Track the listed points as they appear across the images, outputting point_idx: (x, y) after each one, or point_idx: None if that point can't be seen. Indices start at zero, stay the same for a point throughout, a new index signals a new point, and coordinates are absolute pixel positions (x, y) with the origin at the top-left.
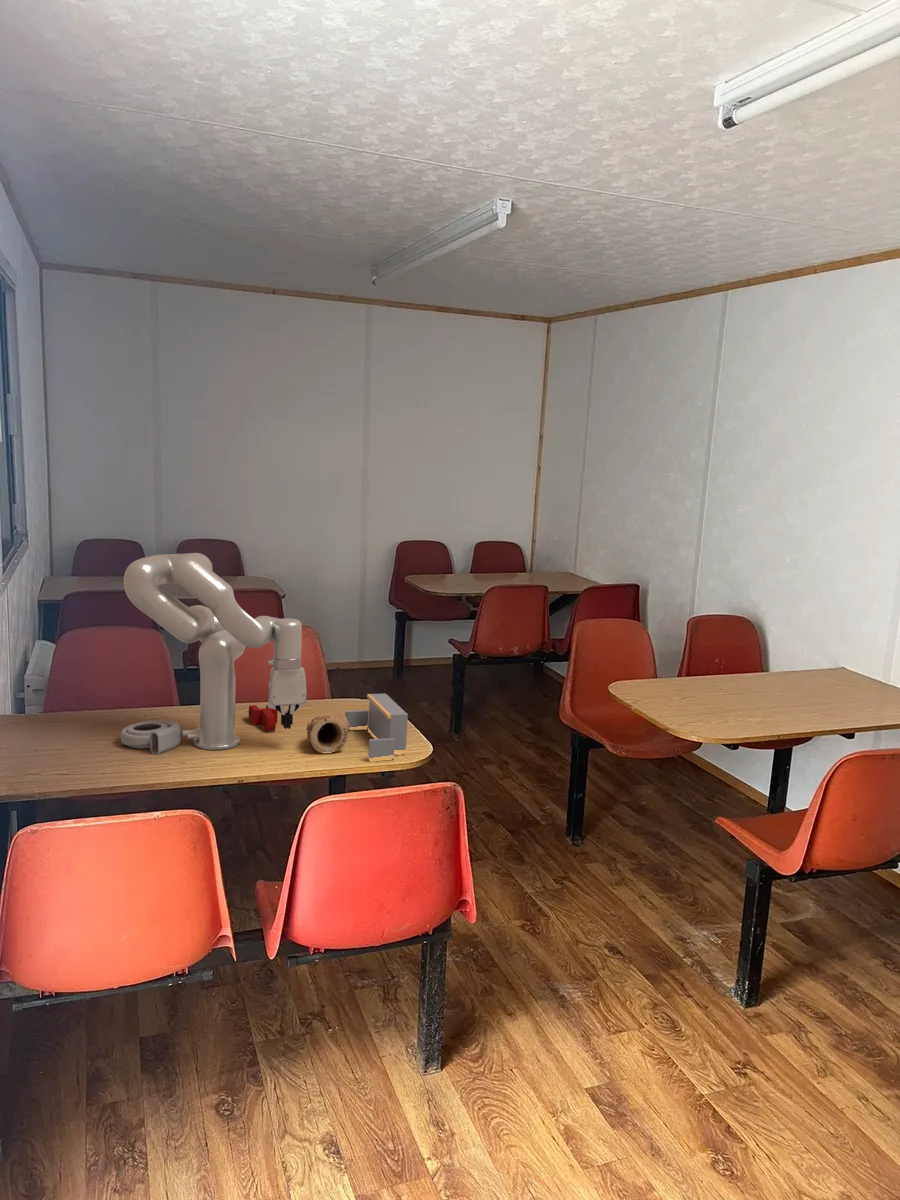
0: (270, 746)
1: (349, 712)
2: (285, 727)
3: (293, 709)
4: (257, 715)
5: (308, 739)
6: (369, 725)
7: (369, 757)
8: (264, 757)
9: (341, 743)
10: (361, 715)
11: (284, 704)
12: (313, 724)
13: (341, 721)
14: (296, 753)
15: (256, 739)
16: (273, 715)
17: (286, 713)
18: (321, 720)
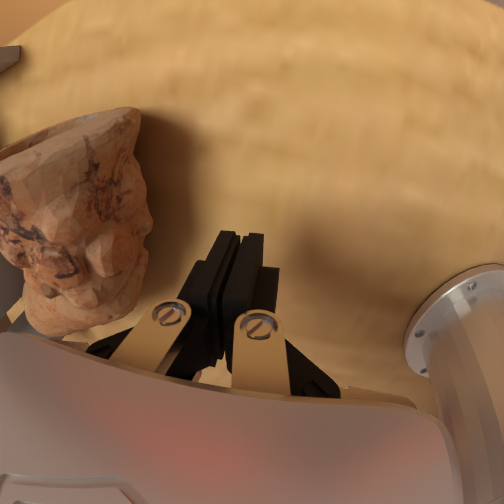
0: (320, 256)
1: None
2: (258, 236)
3: (143, 332)
4: None
5: (144, 182)
6: (13, 289)
7: (10, 48)
8: (391, 125)
9: (38, 131)
10: (22, 328)
11: (239, 394)
12: (69, 197)
13: (32, 292)
14: (226, 138)
15: (343, 333)
16: None
17: (221, 351)
18: (7, 166)
